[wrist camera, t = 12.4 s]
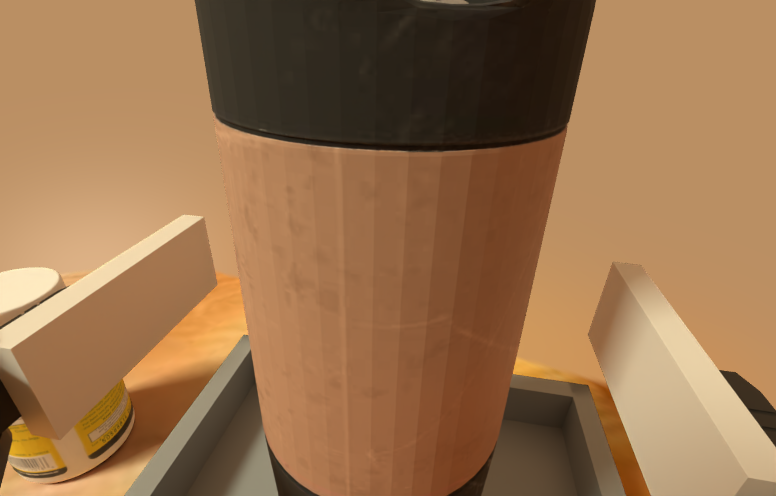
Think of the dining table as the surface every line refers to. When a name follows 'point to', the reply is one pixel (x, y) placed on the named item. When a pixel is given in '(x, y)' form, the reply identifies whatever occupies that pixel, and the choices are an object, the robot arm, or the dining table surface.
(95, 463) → the supplement bottle
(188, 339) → the dining table surface
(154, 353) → the dining table surface
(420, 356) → the travel mug
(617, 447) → the dining table surface
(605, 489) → the tray
